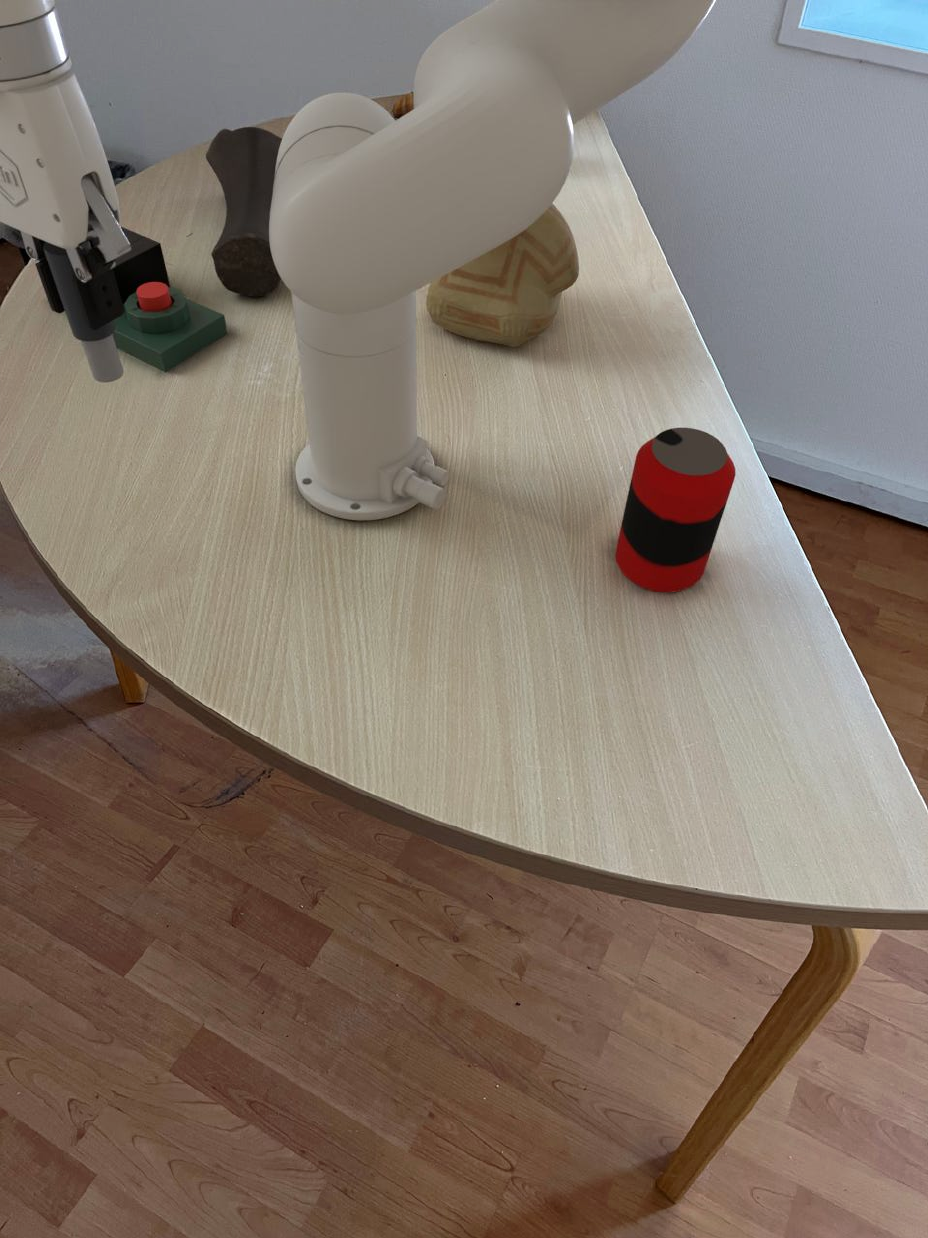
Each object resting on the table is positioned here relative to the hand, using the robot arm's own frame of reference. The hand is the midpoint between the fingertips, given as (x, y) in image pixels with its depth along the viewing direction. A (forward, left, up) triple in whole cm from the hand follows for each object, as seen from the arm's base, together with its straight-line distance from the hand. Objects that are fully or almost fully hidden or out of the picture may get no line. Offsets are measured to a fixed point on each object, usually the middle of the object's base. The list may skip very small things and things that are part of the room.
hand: (88, 310), depth 71 cm
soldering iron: (0, 0, -6) cm, 6 cm away
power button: (+16, -18, -13) cm, 27 cm away
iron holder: (+26, -20, -17) cm, 37 cm away
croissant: (+27, -84, -17) cm, 90 cm away
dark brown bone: (+22, -40, -17) cm, 49 cm away
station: (+16, -18, -17) cm, 29 cm away
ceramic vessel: (-11, -43, -17) cm, 47 cm away
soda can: (-43, -19, -17) cm, 50 cm away
